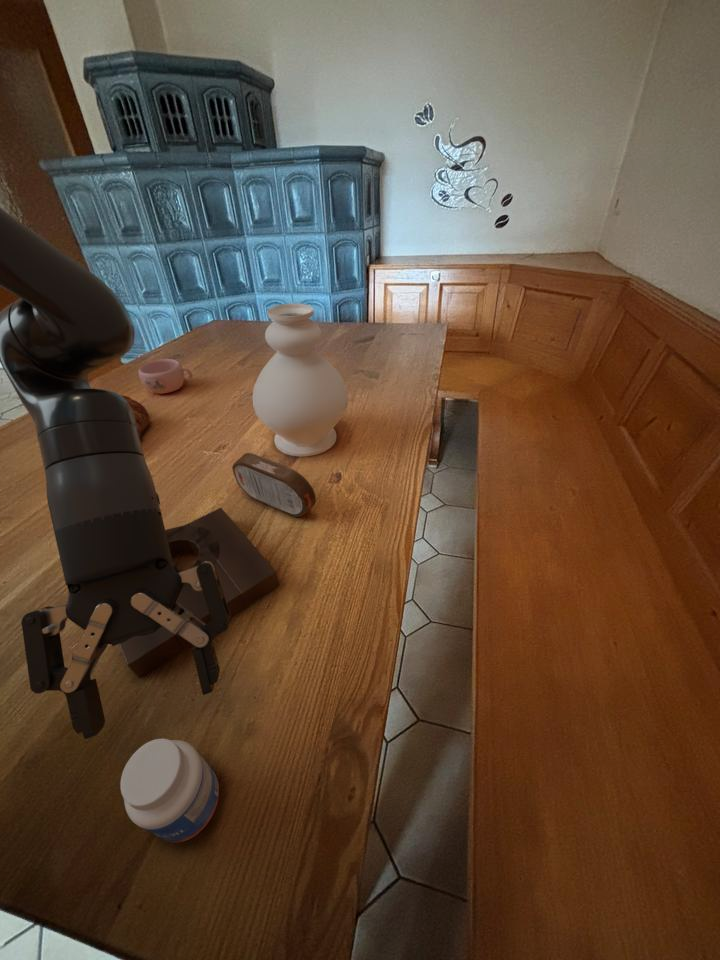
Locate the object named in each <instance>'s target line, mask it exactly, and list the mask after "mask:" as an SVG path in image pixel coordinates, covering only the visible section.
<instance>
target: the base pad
mask: <svg viewBox="0 0 720 960" xmlns="http://www.w3.org/2000/svg"><path fill="white" fill-rule="evenodd" d="M165 531H166V535H167V539H168V543H169V547H170V552H171V556H172V559H174V558H176V557H178V556H183V555H196V556H197V558H196V560H195V562H194V563H193V564H191V566H190V567H189V568H188V569H191V568H193V567H196V566H199V565H200V564H201V563H203V562H206V561H211V562H213V563H214V565H215V568H216V571H217V574H218V577H219V580H220V584H221V587H222V590H223V593H224V596H225V599H226V602H227V606H228V609H229V612H230V615H231V618H233V617H234V616H236V615H237V614H239V613H240V612H241V611H243V610H244V609H246V608H247V607H249V606H251V605H252V604H254V603H256V602H257V601H258V600H259V599H261V598H263V597H264V596H266V595H267V594H269V593H270V592H272V591H273V590H275V589H276V588H278V587H280V581H279V577H278V572H277V570H276V569H275V568H274V567H273V566H272V565H271V563H270V562H269V561H268V560H267V559H266V558H265V557H264V556H263V554H262V553H261V552H260V550H258V548H256V546H255V544H253V543H252V542H251V540H250V539H249V538H248V537H247V536H246V535H245V534H244V532H243V531H242V530H241V529H240V528H239V527H238V525H237V524H236V523H235V522H234V520H232V519H231V517H230V516H229V515H228V514H227V513H226V511H225V510H224V509H223V508H222V507H219V508H217V509H214V510H213V511H211V512H209V513H207V514H205V515H203V516H200V517H199V518H196V519H194V520H192V521H190V522H188V523H186V524H184V525H180V526H176V527H171V528H167V529H165ZM176 601H177V602H178V603H179V604H181V605H182V606H184V607H185V608H186V609H188V610H189V611H191V612H192V613H193V615H194V616H195V617H197V618H198V619H200V620H201V621H202V622H204V623H205V624H207V623H208V622H210V621H211V617H210V613H209V610H208V607H207V604H206V601H205V598H204V594H203V591H196V590H194V589H193V588H192V586H191V585H190V584H189V583H184V584H183V587H182V589H181V591H180V594H179V596H178V598H177V600H176ZM176 612H177V613H178V611H176ZM169 620H171V619H170V618H169ZM191 644H192V643H190V642H189V641H187V640H186V639H184V638H183V637H182V636H180V635H178V634H174V633H172V632H171V631H169V630H168V629H166V628H165V627H163V626H162V627H161V628H159V629H158V630H157V631H156V632H154V633H151V634H148V635H145V636H134V637H132V638H130V639H128V640H127V641H125V642H123V643H120V644H118V645H119V648H120V650H121V653H122V655H123V657H124V661H125V663H126V666H127V667H128V668H129V669H130V670H131V671H132V672H133V674H134V675H135V676H136V678H140V677H142V676H144V675H145V674H146V673H148V672H150V671H151V670H153V669H154V668H155V667H156V668H157V666H159V665H161V663H164V662H165V661H166V660H168V659H170V658H171V657H173V656H174V655H176V654H177V653H179V652H180V651H182V650H183V649H185V648H186V647H187V646H190V645H191Z"/></svg>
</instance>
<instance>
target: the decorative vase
mask: <svg viewBox="0 0 720 960" xmlns="http://www.w3.org/2000/svg"><path fill="white" fill-rule="evenodd" d="M314 311H315V310H314V307H313V306H311V305H310V304H306V303H298V302H297V303H295V302H293V303H283V304H278V305H274V306H271V307H269V308H268V309H267V310H266V313H267V317H268V319H269V320H272V322H271V323H270V324H269V325H268V326H267V328H266V330H265V332H264V339H265V342H266V343H267V345H268V346H269V347H270V348H271V349H273V350H274V351H276V352H275V353H274V354H273V355H272V357H270V359H269V360H268V361H267V362H266V364H265V365H264V366H263V368H262V370H261V371H260V373H259V375H258V376H257V378H256V381H255V382H254V386H253V389H252V397H251V398H252V399H251V400H252V406H253V411H254V413H255V415H256V417H257V418H258V420H259V421H260V422H261V423H262V425H264V426H265V427H266V428H267V429H269V430H270V431H272V432H273V433H274V434H275V435H274V438H273V442H274V444H275V447H276V449H277V450H278V451H279V452H281V453H283V454H284V455H288V456H292V457H301V458H302V457H303V458H304V457H311V456H312V457H313V456H316V455H320V454H322V453H325V452H327V451H328V450H329V449H331V448H332V447H333V446H334V445H335V443H336V441H337V433H336V430H335V429H334V427H335V426H336V425H337V424H339V422H340V420H341V419H342V417H343V416H344V415H345V413H346V410H347V408H348V405H349V404H348V402H349V394H348V388H347V385H346V382H345V381H344V379H343V377H342V375H341V374H340V373H339V371H338V370H337V369H336V368H335V367H334V365H333V364H332V363H331V362H330V361H329V360H328V359H326V357H324V356H323V355H322V354H320V353H319V352H318V351H316V349H315V348H316V347H317V345H318V344H319V343H320V341H321V339H322V331H321V329H320V327H319V326H318V324H317V323H316V322H315V321H314V320H312V319H311V317H313V316H314V314H315V313H314Z"/></svg>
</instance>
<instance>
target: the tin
mask: <svg viewBox="0 0 720 960" xmlns="http://www.w3.org/2000/svg"><path fill="white" fill-rule="evenodd" d="M231 469H232V472H233V476H234V478H235V480H236V483H237V485H238V486H239V488H240V489H241V490H242V491H243V492H244V493H245V494H246V495H247V496H249V497H250V498H252V499H254V500H255V501H257V502H260V503H262V504H264V505H266V506H268V507H271V508H273V509H274V510H277V511H280V512H282V513H284V514H286V515H289V516H290V517H295V518H296V517H297V518H299V517H302V516H304V515H305V514H306V513H308V511H309V510H310V509H311V508H312V507H314V506H315V505H316V502H317V501H316V499H317V498H316V492H315V490H314V488H313V486H312V485H311V483H310V482H309V481H308V479H306V478H305V477H304V476H303V475H302V474H301V473H300V472H298V471H297V470H295V469H293V468H291V467H289V466H286V465H284V464H281V463H279V462H276V461H273V460H271V459H269V458H266V457H263V456H261V455H258V454H257V453H253V452H245V453H243V454H242V455H241V456H240V458H239V459H237V460H236V461H235V462H234V463H233V464H232V466H231Z"/></svg>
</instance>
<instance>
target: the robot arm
mask: <svg viewBox="0 0 720 960" xmlns="http://www.w3.org/2000/svg"><path fill="white" fill-rule="evenodd" d="M0 287H1V288H3V289H4V290H6V291H8V292H10V293H12V294H14V295H15V296H17V297H18V299H16V300H15V301H13V302H12V303H9V304H8V305H7V306H6V307H4V308H3V309H2V310H1V311H0V365H1V367H2V369H3V370H4V372H5V374H6V376H7V378H8V380H9V381H10V383H11V385H12V387H13V389H14V391H15V393H16V394H17V397H18V398H19V400H20V402H21V403H22V405H23V406H24V408H25V410H26V411H27V413H28V414H29V416H30V417H31V419H32V421H33V423H34V425H35V431H36V437H37V442H38V445H39V451H40V455H41V459H42V463H43V469H44V473H45V483H46V499H47V505H48V510H49V514H50V519H51V523H52V529H53V533H54V537H55V542H56V547H57V551H58V555H59V560H60V564H61V568H62V569H61V570H62V573H63V577H64V578H63V579H64V581H65V582H64V583H65V584H66V587H67V590H68V599H67V602H66V604H62V605H59V606H58V605H57V606H51V605H47V606H44V607H41V608H39V609H36V610H33V611H29V612H27V613H26V614H24V615H23V616H22V618H21V621H20V622H21V629H22V636H23V643H24V650H25V659H26V665H27V673H28V680H29V686H30V690H31V691H32V692H33V693H34V694H42V693H44V692H50V691H51V692H53V691H55V692H57V691H59V692H62V693H63V694H64V695H65V698H66V702H67V703H66V704H67V707H68V711H69V715H70V720H71V724H72V730H74V731H75V733H76V734H80V733H82V736H83V738H84V739H85V740H87V739H90V738H93V737H96V736H98V735H99V733H100V732H101V730H102V729H103V728H104V727H105V726H106V725H105V724H106V718H105V713H104V709H103V704H102V699H101V696H100V691H99V686H98V681H97V678H92V674H93V673H94V671H95V668H96V666H97V664H98V662H99V660H100V659H101V657H102V655H103V653H104V652H105V651H106V649H107V647H108V645H111V646H112V647H114V646H117V645H119V644H120V643H123V642H125V641H127V640H128V639H130V638H132V637H134V636H145V635H148V634H151V633H154V632H156V631H157V630H158V629H159V628H161V627H162V626H163V627H165V628H166V629H168V630H169V631H171V632H172V633H174V634H178V635H180V636H182V637H183V638H184V639H186V640H187V641H189V642H190V643H191V644H192V645H193V646H194V648H193V650H192V656H193V661H194V665H195V668H196V672H197V677H198V682H199V686H200V689H201V693H202V695H203V696H205V695H208V694H212V693H213V692H214V689H215V684H217V683H218V682H219V678H220V672H221V668H220V664H219V660H218V656H217V652H216V647H215V644H214V639H215V638H216V637H217V636H219V635H220V634H221V633H224V632H226V631H227V630H228V629H229V627H230V623H231V622H232V617H231V615H230V612H229V609H228V606H227V602H226V599H225V596H224V593H223V590H222V587H221V584H220V580H219V577H218V574H217V571H216V568H215V565H214V563H213V562H211V561H206V562H203V563H201V564H200V565H199V566H196V567H193V568H191V569H189V568H188V569H185V570H182V571H180V570H179V569H178V568H177V566H176V565H175V563H174V560H173V558H172V556H171V552H170V547H169V543H168V539H167V535H166V531H165V530H166V527H165V522H164V519H163V516H162V511H161V501H160V496H159V493H158V492H157V489H156V486H155V482H154V479H153V477H152V473H151V472H150V469H149V467H148V464H147V461H146V457H145V455H144V451H143V445H142V442H141V437H139V433H138V429H137V425H136V420H135V417H134V414H133V411H132V409H131V407H130V405H129V403H128V402H127V400H125V399H124V398H123V397H122V396H120V395H121V394H119V393H117V392H115V391H112V390H108V389H102V388H91V385H90V381H89V374H91V373H92V372H94V371H96V370H98V369H100V368H103V367H104V366H106V365H108V364H111V363H113V362H115V361H117V360H118V359H120V358H122V357H124V356H125V355H127V353H128V352H130V350H131V349H132V347H133V345H134V343H135V339H136V338H135V337H136V332H135V326H134V322H133V319H132V317H131V315H130V313H129V310H128V309H127V308H126V306H125V304H124V302H123V301H122V300H121V298H120V297H119V296H118V295H117V294H116V293H115V292H114V291H113V289H112V288H110V287H109V285H108V284H106V283H105V282H104V281H103V280H102V279H100V278H99V277H98V276H96V275H95V274H94V273H92V272H91V271H90V270H88V268H85V267H84V266H83V265H81V264H80V263H79V262H77V261H76V260H74V259H73V258H72V257H71V256H69V255H67V254H66V253H65V252H63V251H62V250H60V249H59V248H57V247H56V246H54V245H53V244H52V243H51V242H49V241H48V240H46V239H45V238H43V237H42V236H41V235H40V234H38V233H37V232H36V231H34V230H32V229H31V228H30V227H28V226H27V225H25V224H24V223H22V222H20V221H19V220H18V219H16V217H13V216H12V215H11V214H10V213H8V212H7V211H6V210H5V209H3V208H2V207H1V206H0ZM184 583H189V584H190V585H191V586H192V588H193V589H194V590H196V591H203V594H204V598H205V601H206V604H207V607H208V610H209V613H210V617H211V621H210V622H208V623H207V624H205V623H204V622H202V621H201V620H200V619H198V618H197V617H195V616H194V615H193V613H192V612H191V611H189V610H188V609H186V608H185V607H184V606H182V605H181V604H179V603H178V602H177V601H176V600H177V598H178V596H179V594H180V591H181V589H182V587H183V584H184ZM176 611H178V613H177V612H176ZM169 618H170V619H171V620H169ZM67 619H68V620H69V621H71V622H72V623H73V624H75V625H76V626H78V627H79V628H81V629H82V630H83V634H82V636H81V637H80V640H79V642H78V644H77V646H76V648H75V650H74V652H73V653H72V657H71V661H70V663H69V666H66V667H65V659H64V653H63V646H62V641H61V640H62V639H61V633H62V632H63V631H64V630H65V627H66V622H67ZM91 678H92V679H91Z"/></svg>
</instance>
